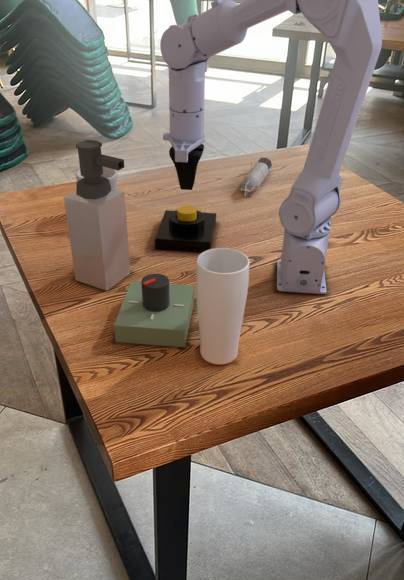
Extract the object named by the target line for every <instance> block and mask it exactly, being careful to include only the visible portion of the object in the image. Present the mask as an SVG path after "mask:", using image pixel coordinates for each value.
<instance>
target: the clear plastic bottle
mask: <svg viewBox="0 0 404 580" xmlns="http://www.w3.org/2000/svg"><path fill="white" fill-rule="evenodd" d="M272 168H273V161H272V159H271V158H269V157H268V156H267V157H266V156H263V157H260V158H259V159H258V161H257V162H256V163H255V164H254V165H253V162H250V170H249V171H248V173H246V175H245V177H243V180H242V182H239V185H241V188H240V191H243V192H244V195H243V196H244V197H246V196H247V195H248V194H249V193H251V194H252V193H254V192H256V191H257V190H258V189H259V188H261V184H262V183H263V181H264V180H265V179H266V177H267V176H268V175H269V173H270V172H271V170H272Z"/></svg>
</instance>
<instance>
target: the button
mask: <svg viewBox="0 0 404 580" xmlns="http://www.w3.org/2000/svg"><path fill="white" fill-rule="evenodd" d="M176 210H177V219H178V220H180V221H188V222H189V221H194V220H196V219H197V211H198V209H197V208H196V207H195V206H193V205H180V206H179V207H177V208H176Z"/></svg>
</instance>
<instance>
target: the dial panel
mask: <svg viewBox="0 0 404 580" xmlns="http://www.w3.org/2000/svg"><path fill="white" fill-rule="evenodd" d="M169 293H170V305H169V307H168V308H166V309H165V310H162V311H149V310H147V309H145V308H144V307H143V302H142V285H141V281H138V280H131V281H130V283H129V285H128V288H127V291H126V292H125V296H124V298H123V301H122V304H121V306H120V308H119V311H118V314H117V316H116V318H115V321H114V324H113V329H114V338H115V343H124V344H135V345H137V344H138V345H149V346H162V347H173V348H174V347H175V348H185V347H186V343H187V338H188V332H189V329H190V323H191V320H192V319H191V318H192V314H193V310H194V304H195V285H194V284H181V283H169Z"/></svg>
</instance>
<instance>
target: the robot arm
mask: <svg viewBox="0 0 404 580" xmlns="http://www.w3.org/2000/svg"><path fill="white" fill-rule="evenodd" d="M210 6H211V8H208V9H207V10H205V11H203V12H201V13H199V14H196V13H193V14H191V15H189V16H187V22H186V23H183V24H171V25H169V26H168V28H167V29H165V30H164V31H163V33H162V35H161V38H160V43H159V46H160V47H159V48H160V53H161V57H162V59H163V61H164V62H165V63H166V65H167V66H168V102H169V103H168V108H169V110H168V111H169V132H164V133H163V135H162V140H163V141H168V142H169V143H170V145H171V147H170V148H169V151H168V155H169V158H170V159H171V161H172V163H173V164H174V167H175V171H176V175H177V181H178V185H179V188H180V190H183V191H184V190H185V191H193V189H194V185H195V181H196V175H197V169H198V164H199V162H200V160H201V158H202V156H203V153H204V150H205V145H204V143H205V141H206V135H205V86H206V85H205V83H206V81H205V80H206V78H205V77H206V72H208V71H207V70H208V69H207V68H208V67H207V65H208V62H209V60H210V59H211V58H212V57H214V56H216V55H218V54H220V53H222V52H224V51H226V50H229V49H231V48H232V47H235V46H237V45H239V44H241V43H242V42H244V40H245V38H246V35H247V32H248V29H249V28H251V27H254V26H257V25H258V24H261V23H263V22H265V21H268V20H270V19H272V18H274V17H276V16H278V15H281V14H283V13H285V12H287V11H289V13H292V14H294V15H298V14H302V15H303V16H304V18H305V19H306V21H308V22H309V23H310V25H311V26H312V27H314V28H315V29H316V30H317V31H318V32H319V33H320V34H321V35H322V36H323V37H324V38H326V40H327V42H328V43H329V45H330V47H331V48H332V50H333V52H334V53H335V59H334V62H333V65H332V69H331V73H330V76H329V79H328V83H327V86H326V89H325V93H324V96H323V99H322V104H321V107H320V110H319V113H318V117H317V121H316V124H315V127H314V131H313V135H312V138H311V141H310V145H309V148H308V151H307V155H306V159H305V162H304V166H303V168H302V170H301V171H300V173H299V175H298V176H297V178H296V179H295V180H294V182H293V184H292V185H291V188H290V192H289V194H288V196H287V197H285V198H284V200H283V201H282V203H281V204H280V206H279V209H278V217H279V221H280V224H281V226H282V227H283V228H284V230H283V238H282V239H283V240H282V248H281V255H280V256H281V257H280V260H277V261H276V291H278V292H288V293H301V294H315V295H326V294H327V292H328V291H327V283H326V275H325V266H326V257H327V252H328V246H329V241H330V233H331V229H332V227H331V225H332V222H331V221H332V216H333V215H335V214H336V213H337V212H338V211H339V209H340V207H341V204H342V195H341V189H342V188H341V187H342V184H343V181H344V179H343V177H342V175H341V174H340V171H341V169H342V165H343V163H344V160H345V156H346V154H347V150H348V148H349V145H350V142H351V140H352V136H353V133H354V130H355V127H356V124H357V121H358V118H359V116H360V113H361V109H362V107H363V104H364V101H365V99H366V98H365V97H366V95H367V92H368V89H369V86H370V83H371V80H372V77H373V74H374V72H375V68H376V65H377V63H378V60H379V57H380V53H381V51H382V46H383V36H382V26H381V18H380V8H379V6H380V5H379V0H244V1H243V2H240V3H237V2H236V1H234V0H213V1H211V2H210Z"/></svg>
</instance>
